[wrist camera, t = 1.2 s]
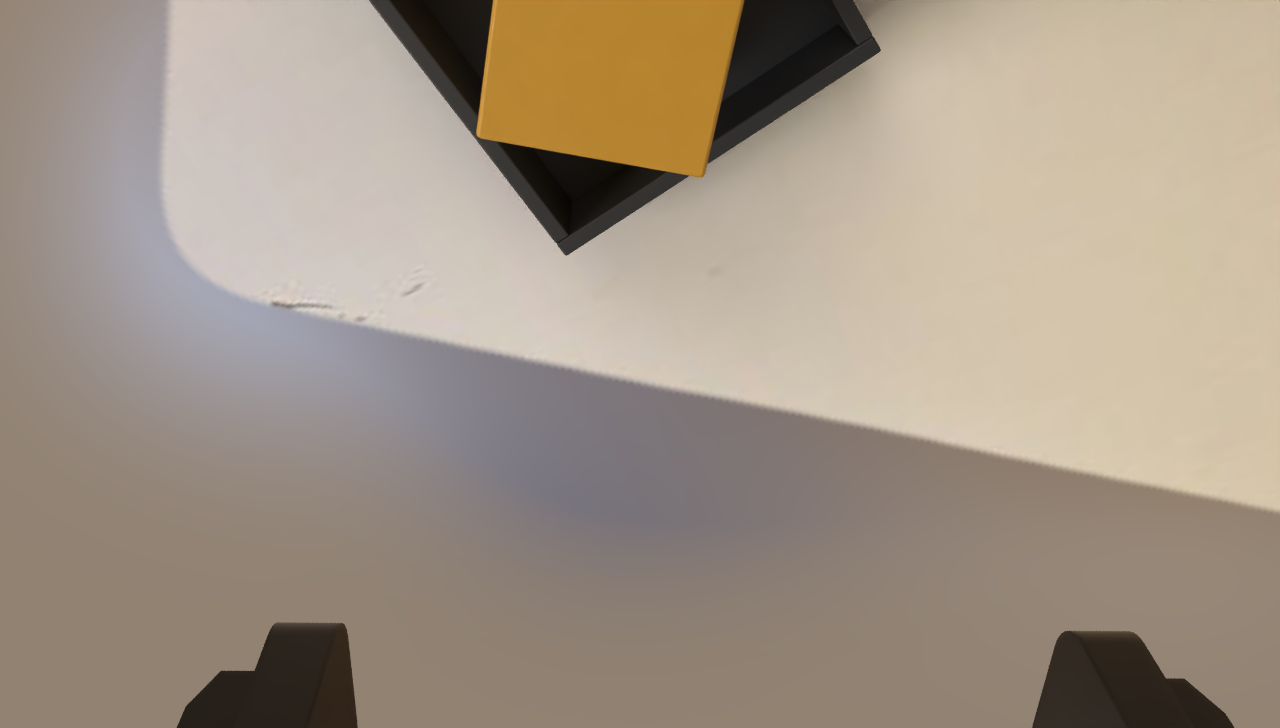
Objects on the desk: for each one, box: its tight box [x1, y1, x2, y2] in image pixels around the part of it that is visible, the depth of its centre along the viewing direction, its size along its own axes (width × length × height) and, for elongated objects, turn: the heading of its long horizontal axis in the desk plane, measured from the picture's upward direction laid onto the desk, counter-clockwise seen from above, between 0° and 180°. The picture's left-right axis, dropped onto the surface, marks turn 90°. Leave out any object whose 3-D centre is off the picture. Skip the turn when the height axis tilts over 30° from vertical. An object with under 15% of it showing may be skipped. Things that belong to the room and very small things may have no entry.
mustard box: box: [476, 0, 744, 177], centre depth 24 cm, size 4×4×7 cm
